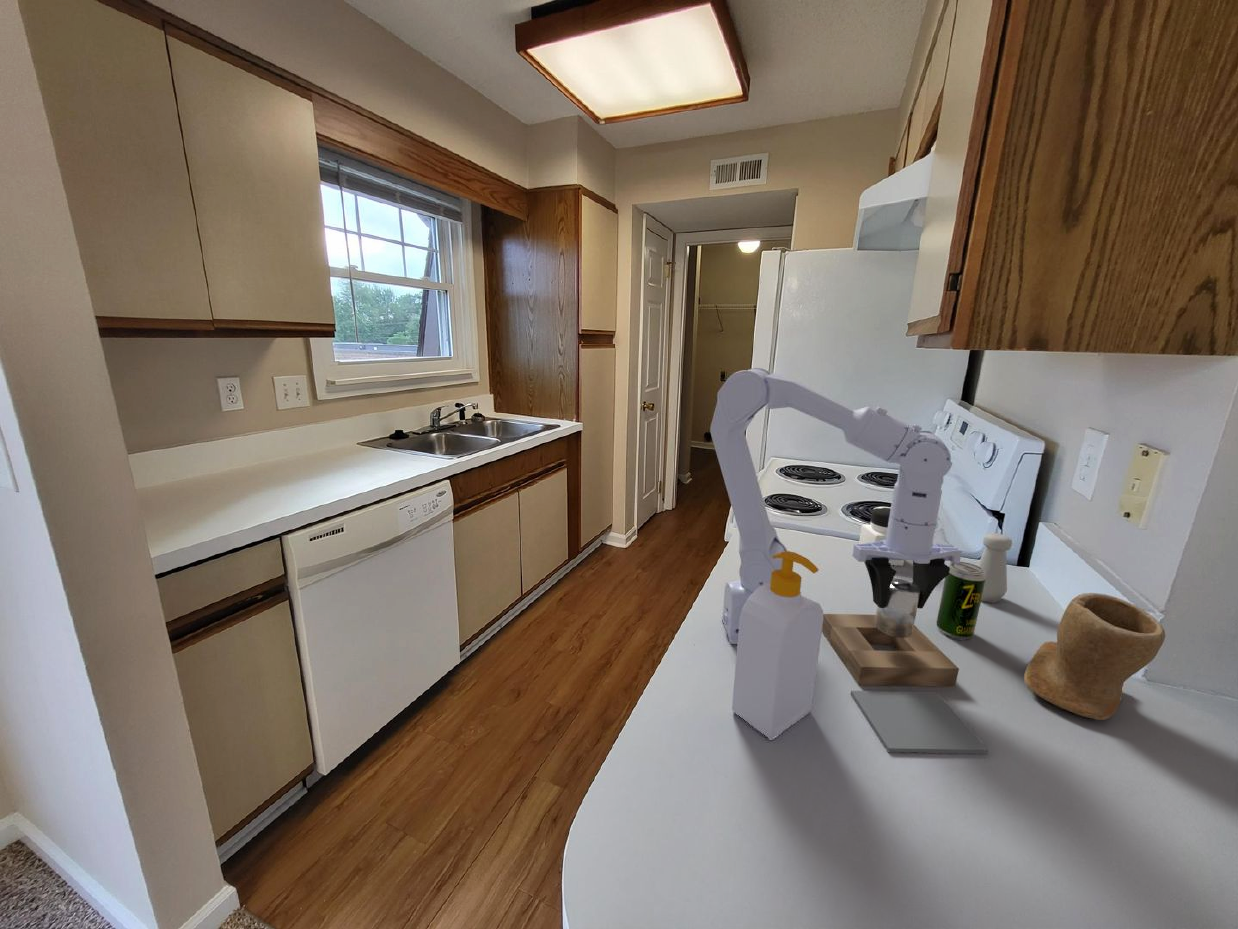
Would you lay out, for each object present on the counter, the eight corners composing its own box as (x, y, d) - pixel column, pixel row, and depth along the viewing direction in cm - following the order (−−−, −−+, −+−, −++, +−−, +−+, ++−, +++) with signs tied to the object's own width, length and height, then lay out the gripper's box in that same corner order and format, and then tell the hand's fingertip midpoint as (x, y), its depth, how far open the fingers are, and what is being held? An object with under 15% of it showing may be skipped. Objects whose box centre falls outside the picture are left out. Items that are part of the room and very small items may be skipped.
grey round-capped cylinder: (885, 637, 71) (893, 591, 70) (868, 618, 76) (875, 574, 74) (919, 638, 71) (928, 591, 70) (900, 619, 76) (908, 575, 74)
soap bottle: (775, 747, 60) (794, 575, 54) (730, 713, 65) (744, 553, 60) (816, 715, 65) (838, 555, 60) (772, 686, 71) (788, 537, 65)
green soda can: (928, 625, 86) (940, 562, 83) (951, 621, 88) (964, 559, 85) (956, 643, 81) (970, 577, 78) (980, 638, 83) (995, 573, 80)
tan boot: (1129, 746, 61) (1164, 640, 57) (1011, 693, 70) (1035, 598, 66) (1146, 694, 70) (1177, 599, 66) (1040, 653, 79) (1062, 567, 75)
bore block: (858, 685, 71) (861, 667, 70) (820, 629, 85) (822, 613, 84) (955, 686, 71) (959, 668, 70) (901, 630, 85) (904, 615, 84)
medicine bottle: (904, 566, 109) (912, 515, 106) (871, 565, 109) (879, 514, 106) (887, 552, 116) (895, 504, 113) (857, 552, 116) (864, 503, 113)
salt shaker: (992, 591, 99) (1005, 530, 96) (1011, 606, 93) (1026, 542, 90) (961, 589, 99) (973, 529, 96) (978, 604, 94) (992, 540, 91)
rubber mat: (887, 752, 59) (888, 748, 59) (850, 694, 69) (851, 690, 69) (987, 754, 59) (988, 750, 59) (935, 695, 69) (936, 692, 69)
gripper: (875, 528, 66) (861, 619, 69) (984, 529, 66) (964, 620, 69) (851, 510, 72) (839, 593, 76) (949, 511, 72) (933, 594, 76)
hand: (897, 604), depth 73 cm, fingers closed on grey round-capped cylinder, 5 cm apart
